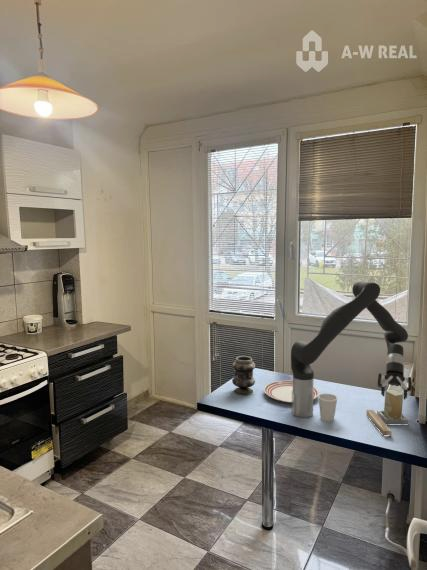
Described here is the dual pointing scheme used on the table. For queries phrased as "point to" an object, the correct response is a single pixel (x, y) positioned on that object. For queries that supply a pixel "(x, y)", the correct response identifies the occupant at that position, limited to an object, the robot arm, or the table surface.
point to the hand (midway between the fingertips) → (394, 397)
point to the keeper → (392, 421)
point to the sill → (378, 422)
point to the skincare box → (393, 404)
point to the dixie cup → (327, 406)
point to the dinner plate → (283, 391)
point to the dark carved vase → (243, 375)
